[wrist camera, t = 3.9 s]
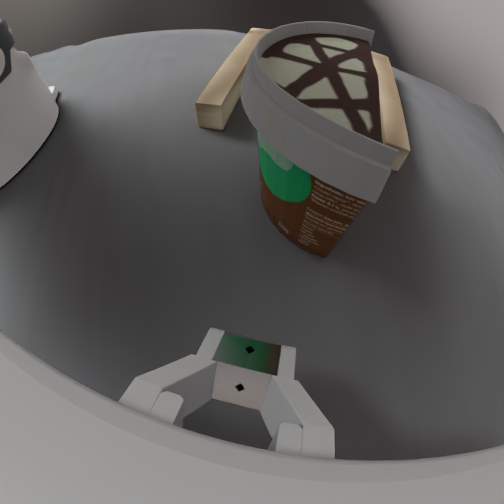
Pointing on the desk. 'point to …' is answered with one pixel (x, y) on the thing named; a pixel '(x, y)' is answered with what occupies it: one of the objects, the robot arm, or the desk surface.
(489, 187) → the desk surface
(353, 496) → the robot arm
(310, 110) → the food container
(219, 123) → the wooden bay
